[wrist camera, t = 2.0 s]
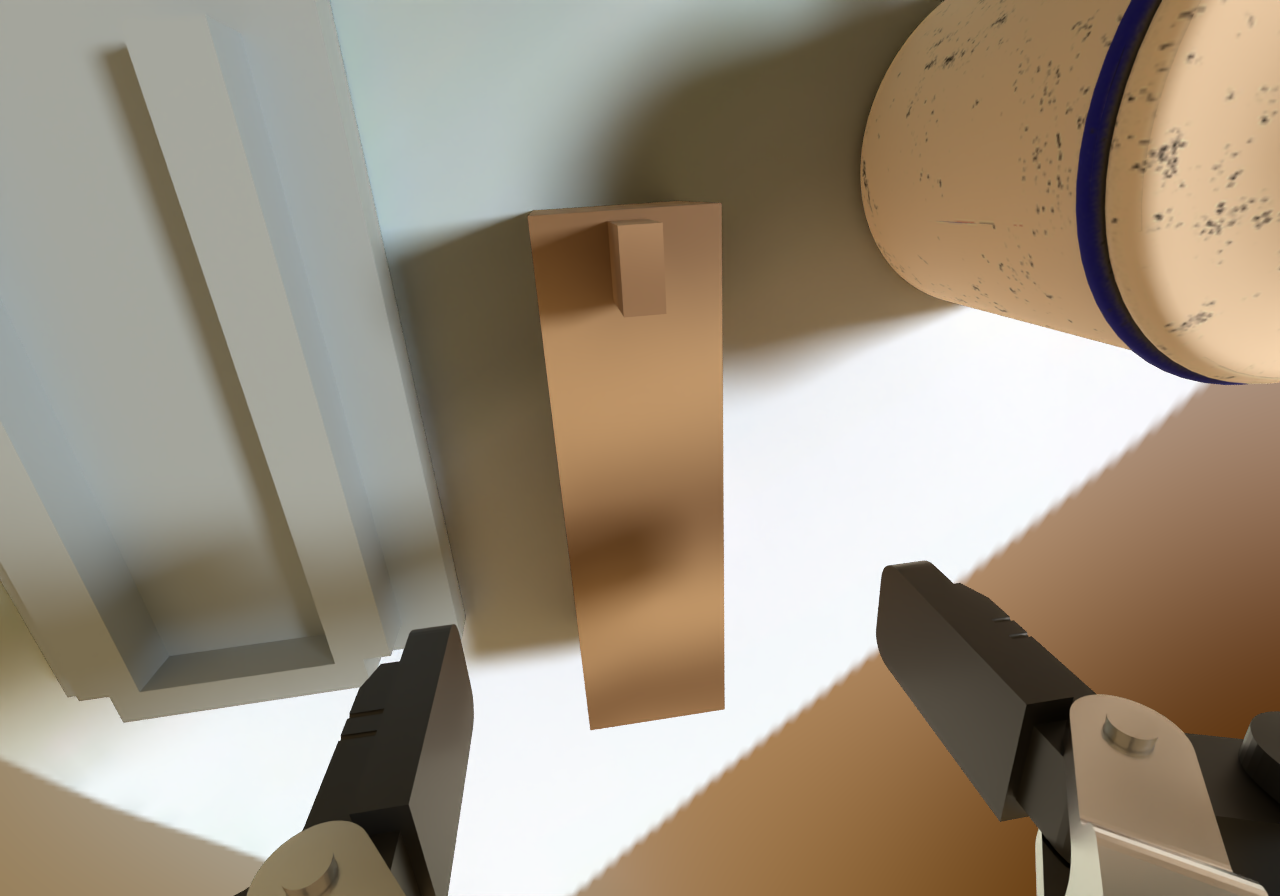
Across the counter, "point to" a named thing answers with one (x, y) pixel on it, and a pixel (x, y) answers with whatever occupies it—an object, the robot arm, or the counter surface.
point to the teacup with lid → (1091, 173)
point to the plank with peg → (639, 446)
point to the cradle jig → (202, 362)
